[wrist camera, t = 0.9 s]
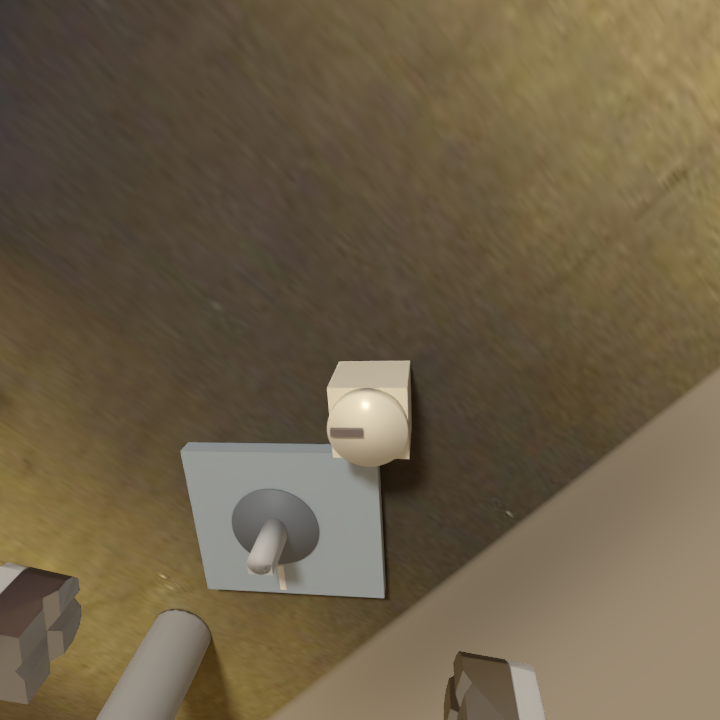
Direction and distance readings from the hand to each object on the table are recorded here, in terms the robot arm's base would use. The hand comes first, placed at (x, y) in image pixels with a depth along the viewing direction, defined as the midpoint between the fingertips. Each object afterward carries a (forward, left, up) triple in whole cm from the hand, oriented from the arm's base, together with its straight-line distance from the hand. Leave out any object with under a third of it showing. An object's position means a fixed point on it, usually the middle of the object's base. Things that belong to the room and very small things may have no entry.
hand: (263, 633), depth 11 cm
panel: (+10, +22, -33) cm, 41 cm away
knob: (+1, +9, -33) cm, 34 cm away
